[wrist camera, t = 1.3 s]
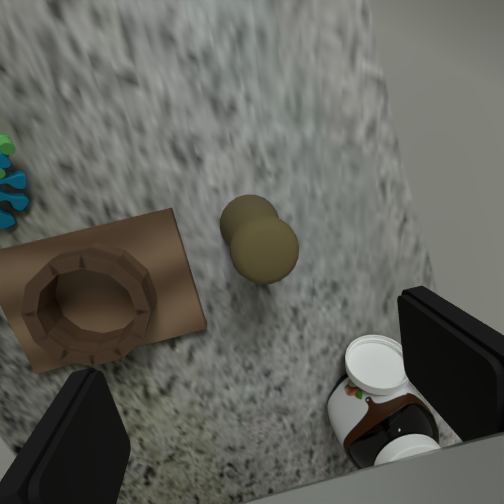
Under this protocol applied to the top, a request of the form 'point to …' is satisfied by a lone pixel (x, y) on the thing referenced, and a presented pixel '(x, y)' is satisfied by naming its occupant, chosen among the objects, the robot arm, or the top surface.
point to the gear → (10, 182)
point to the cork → (258, 240)
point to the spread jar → (379, 406)
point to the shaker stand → (99, 291)
